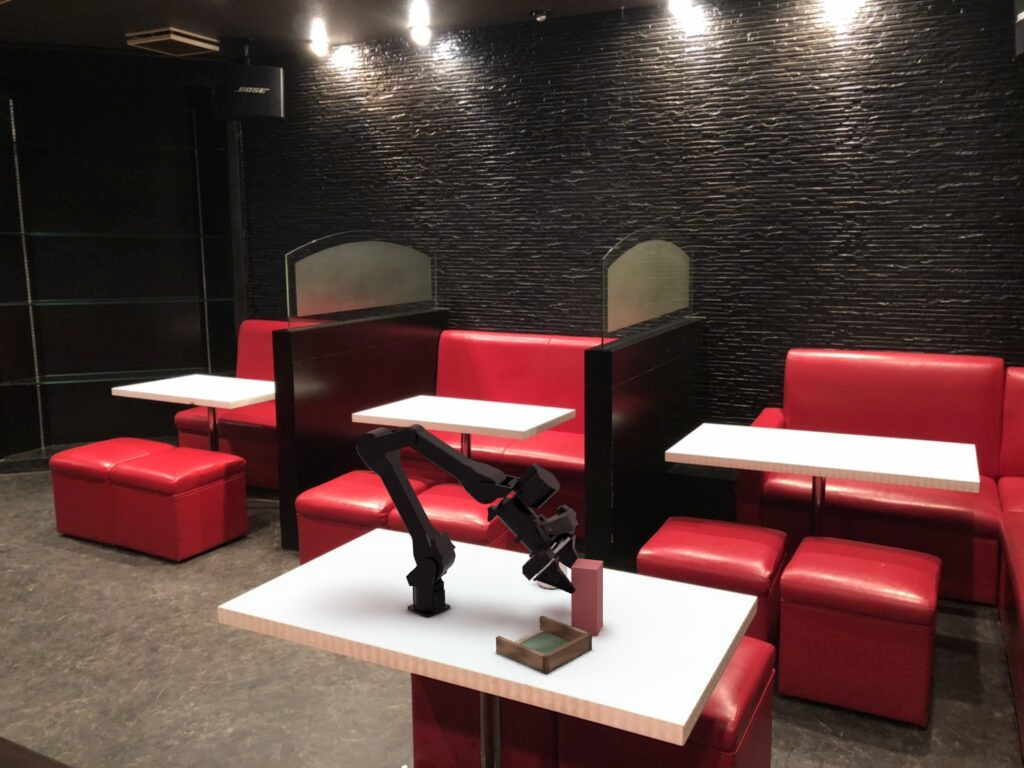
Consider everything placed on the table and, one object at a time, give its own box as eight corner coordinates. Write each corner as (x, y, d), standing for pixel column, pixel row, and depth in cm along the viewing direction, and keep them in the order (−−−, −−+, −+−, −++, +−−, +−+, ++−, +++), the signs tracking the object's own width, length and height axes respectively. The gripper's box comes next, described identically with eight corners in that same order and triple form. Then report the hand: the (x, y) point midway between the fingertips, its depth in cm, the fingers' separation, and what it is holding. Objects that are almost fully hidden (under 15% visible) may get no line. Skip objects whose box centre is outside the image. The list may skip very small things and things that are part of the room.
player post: (571, 633, 160) (571, 567, 158) (577, 622, 165) (577, 558, 163) (597, 636, 158) (597, 569, 157) (602, 625, 163) (603, 561, 161)
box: (496, 652, 152) (495, 637, 152) (542, 630, 161) (542, 615, 161) (546, 674, 144) (546, 657, 144) (591, 649, 153) (591, 633, 153)
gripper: (537, 509, 151) (598, 574, 149) (564, 484, 169) (619, 541, 167) (497, 548, 155) (556, 612, 153) (527, 519, 172) (580, 576, 170)
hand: (580, 583), depth 161 cm, fingers open, 9 cm apart
